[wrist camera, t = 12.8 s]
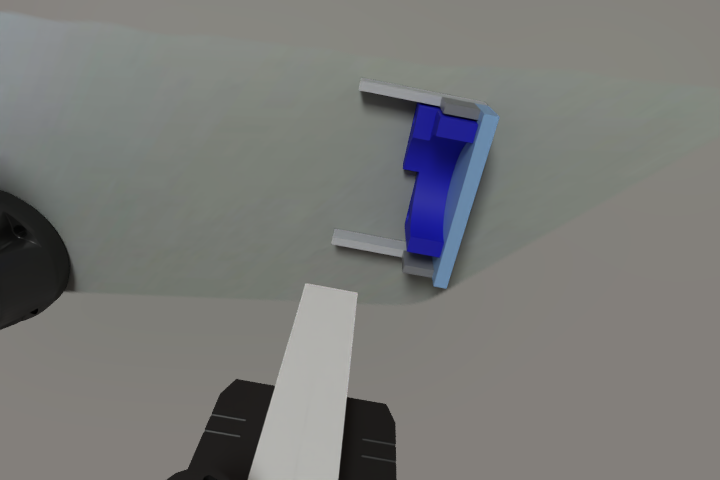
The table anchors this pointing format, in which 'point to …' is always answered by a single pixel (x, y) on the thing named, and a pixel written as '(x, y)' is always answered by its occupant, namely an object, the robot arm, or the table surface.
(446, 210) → the blue wall bracket
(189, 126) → the table surface
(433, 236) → the blue arched bracket piece
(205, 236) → the table surface
